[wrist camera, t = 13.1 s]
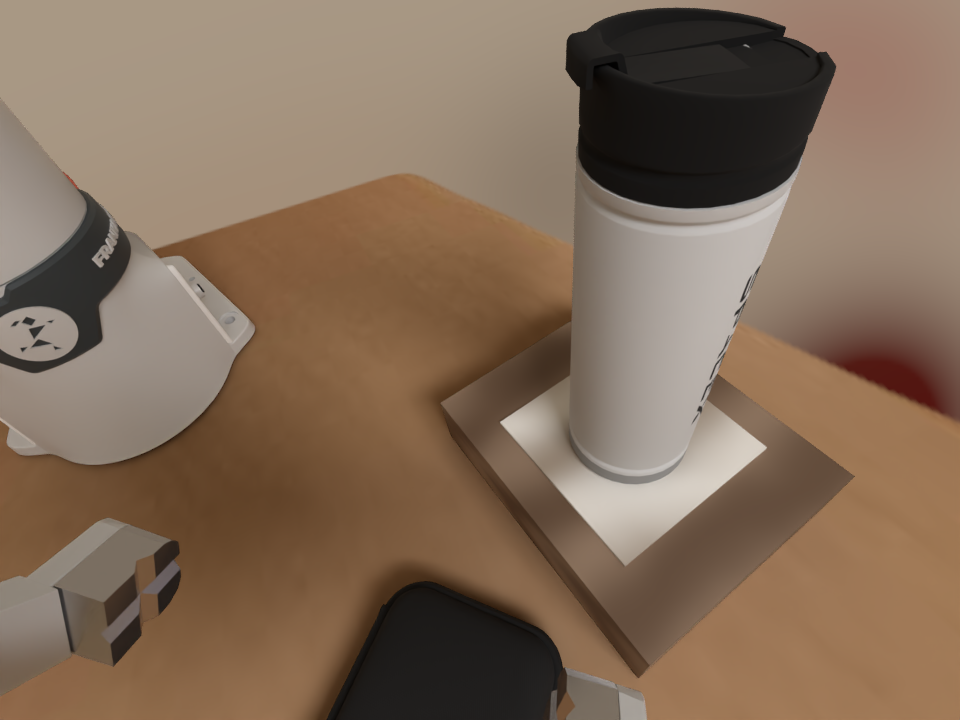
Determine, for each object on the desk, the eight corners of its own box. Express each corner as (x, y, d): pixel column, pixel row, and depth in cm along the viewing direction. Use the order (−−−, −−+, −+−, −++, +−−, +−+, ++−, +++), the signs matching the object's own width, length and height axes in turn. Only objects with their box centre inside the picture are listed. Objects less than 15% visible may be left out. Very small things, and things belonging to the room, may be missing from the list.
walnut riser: (451, 435, 34) (439, 401, 31) (607, 333, 38) (611, 293, 35) (638, 678, 24) (650, 664, 21) (822, 508, 28) (856, 474, 25)
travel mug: (549, 401, 30) (538, 7, 14) (658, 376, 30) (764, -40, 14) (582, 499, 26) (615, 103, 10) (707, 471, 26) (925, 37, 10)
